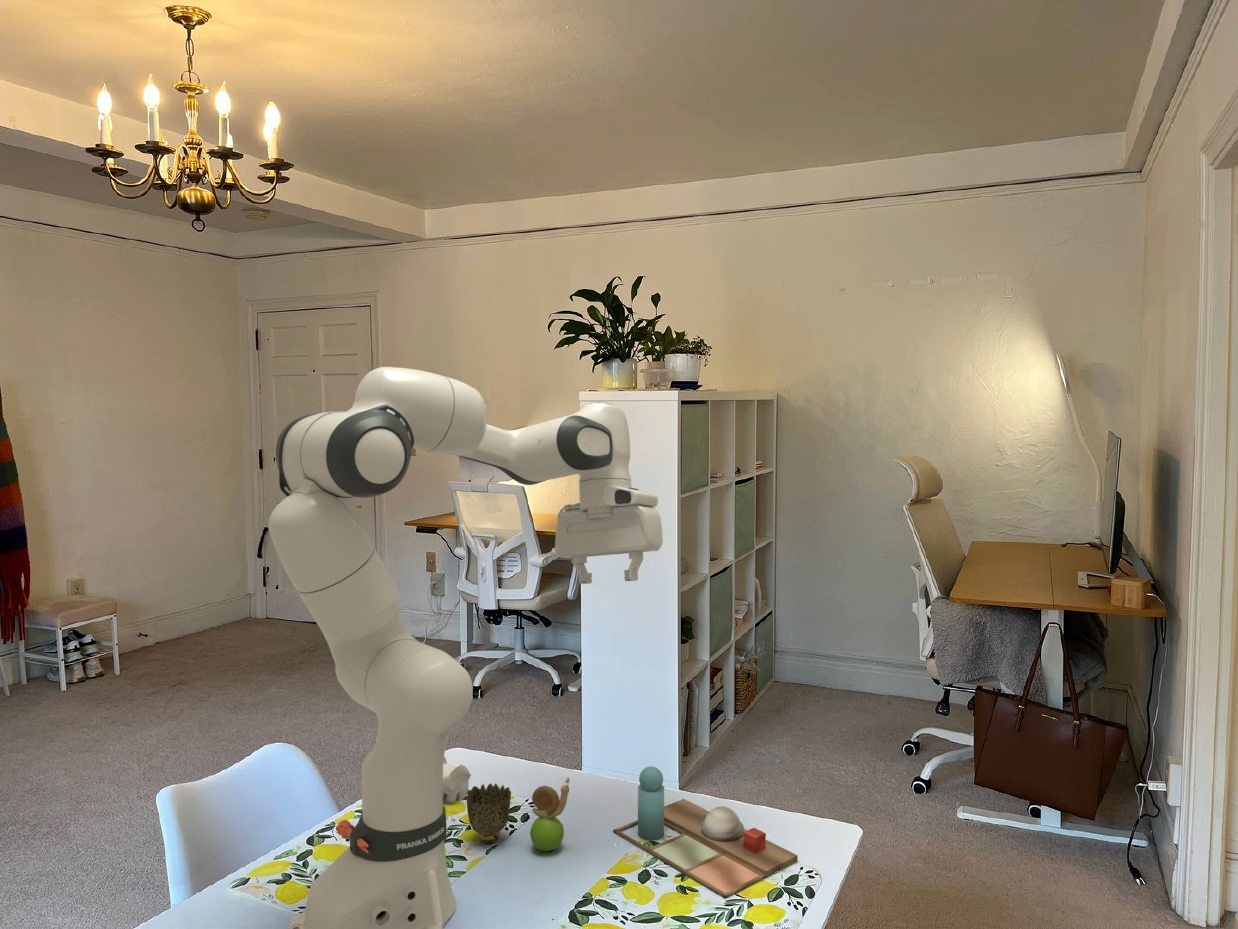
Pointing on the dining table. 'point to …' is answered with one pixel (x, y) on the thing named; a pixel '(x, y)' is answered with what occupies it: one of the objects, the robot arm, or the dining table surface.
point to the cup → (488, 811)
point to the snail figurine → (548, 817)
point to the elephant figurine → (455, 781)
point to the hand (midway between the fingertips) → (607, 582)
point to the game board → (715, 848)
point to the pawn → (651, 804)
